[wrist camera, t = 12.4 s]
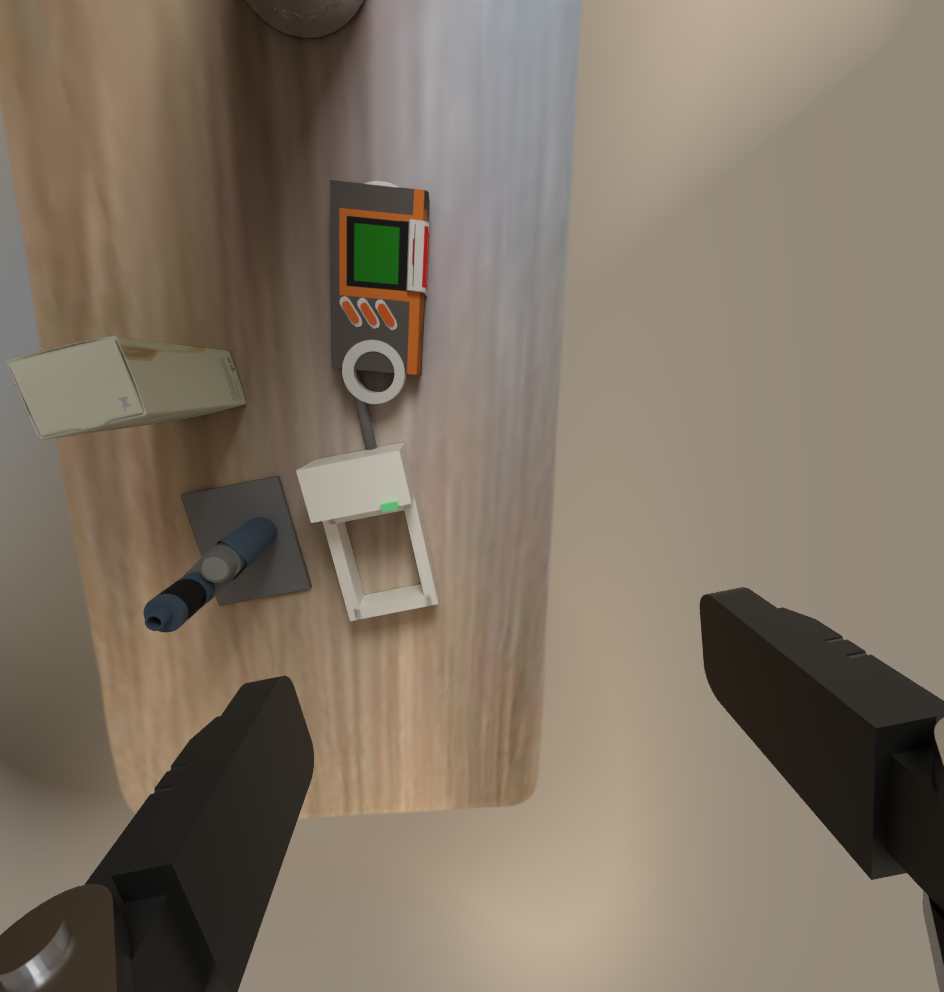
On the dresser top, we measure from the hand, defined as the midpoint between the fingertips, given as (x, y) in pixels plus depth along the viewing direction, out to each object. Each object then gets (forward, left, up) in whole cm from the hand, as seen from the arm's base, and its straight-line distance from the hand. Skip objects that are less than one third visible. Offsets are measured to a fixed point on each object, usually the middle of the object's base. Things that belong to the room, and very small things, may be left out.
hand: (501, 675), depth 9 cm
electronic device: (-12, -4, -31) cm, 33 cm away
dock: (0, -8, -30) cm, 31 cm away
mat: (+4, -19, -30) cm, 36 cm away
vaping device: (+4, -18, -30) cm, 35 cm away
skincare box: (-9, -19, -30) cm, 37 cm away
